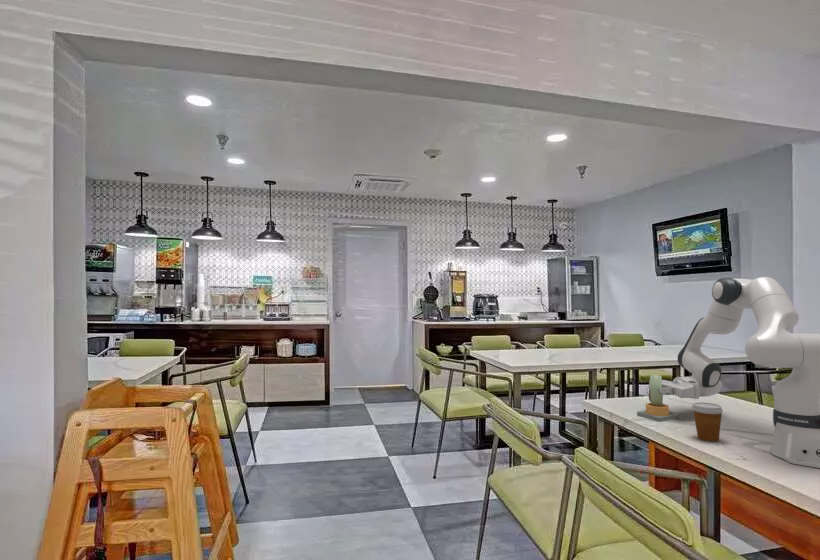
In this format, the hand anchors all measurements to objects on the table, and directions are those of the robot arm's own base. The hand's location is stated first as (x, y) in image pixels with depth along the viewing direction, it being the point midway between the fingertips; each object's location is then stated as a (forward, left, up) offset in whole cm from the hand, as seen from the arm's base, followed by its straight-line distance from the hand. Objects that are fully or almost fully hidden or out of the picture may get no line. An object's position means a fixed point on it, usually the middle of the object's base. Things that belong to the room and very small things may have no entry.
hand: (654, 388), depth 191 cm
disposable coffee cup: (-25, +17, -12) cm, 32 cm away
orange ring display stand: (-1, -1, -12) cm, 12 cm away
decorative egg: (+8, -23, -12) cm, 27 cm away
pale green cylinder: (0, -1, -6) cm, 7 cm away
